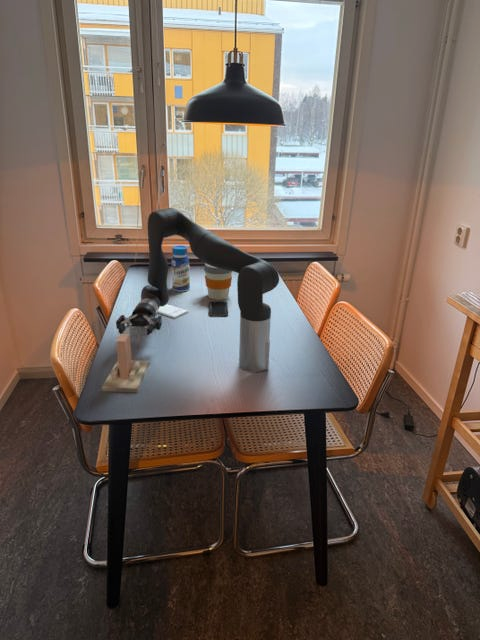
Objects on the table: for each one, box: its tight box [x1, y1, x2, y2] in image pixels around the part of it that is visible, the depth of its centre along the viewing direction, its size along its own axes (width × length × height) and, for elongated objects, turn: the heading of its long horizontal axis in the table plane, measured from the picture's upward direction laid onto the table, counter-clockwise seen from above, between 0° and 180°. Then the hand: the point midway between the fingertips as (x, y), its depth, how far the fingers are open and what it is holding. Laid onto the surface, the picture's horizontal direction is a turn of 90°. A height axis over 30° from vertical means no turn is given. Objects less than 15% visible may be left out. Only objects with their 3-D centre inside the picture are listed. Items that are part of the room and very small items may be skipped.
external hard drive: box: [157, 303, 189, 320], centre depth 174 cm, size 2×8×12 cm
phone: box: [208, 300, 229, 318], centre depth 178 cm, size 8×1×15 cm
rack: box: [101, 359, 150, 393], centre depth 127 cm, size 16×10×3 cm, turn 179°
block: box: [116, 333, 133, 378], centre depth 124 cm, size 5×2×12 cm, turn 179°
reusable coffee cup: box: [203, 262, 233, 301], centre depth 189 cm, size 13×13×15 cm
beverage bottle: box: [170, 245, 191, 293], centre depth 196 cm, size 8×8×20 cm
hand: (134, 331), depth 134 cm, fingers open, 8 cm apart
